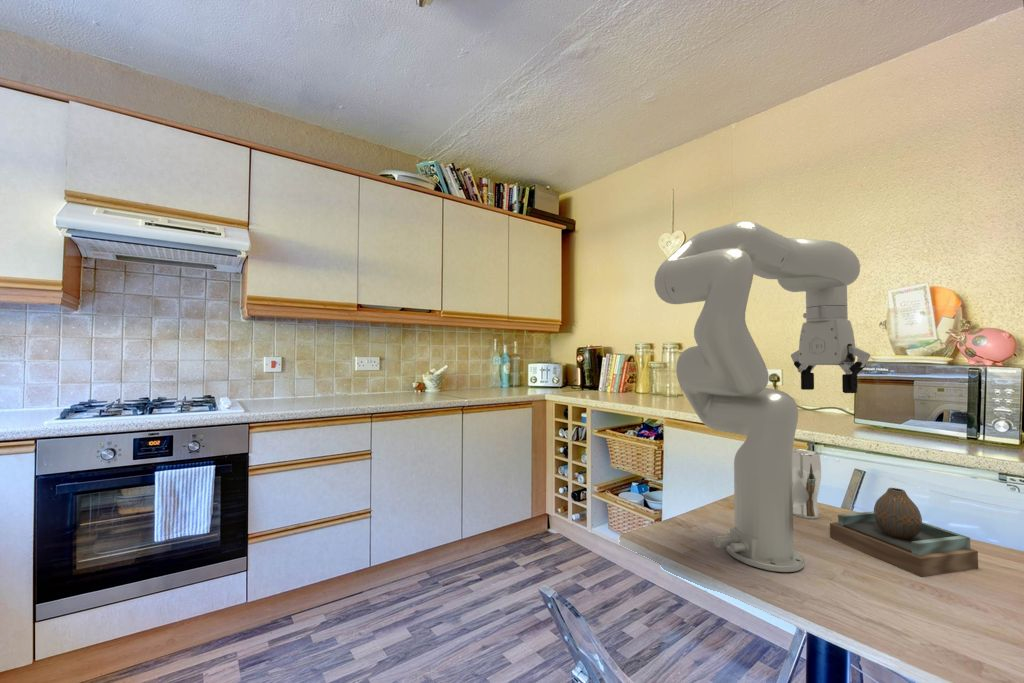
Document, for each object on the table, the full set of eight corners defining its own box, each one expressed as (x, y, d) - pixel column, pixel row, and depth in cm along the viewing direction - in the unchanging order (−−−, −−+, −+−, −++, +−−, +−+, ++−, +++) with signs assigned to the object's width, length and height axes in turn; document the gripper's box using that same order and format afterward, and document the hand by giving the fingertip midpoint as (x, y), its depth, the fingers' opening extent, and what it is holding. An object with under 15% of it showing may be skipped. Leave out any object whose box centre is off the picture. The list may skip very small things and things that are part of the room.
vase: (895, 527, 85) (894, 483, 85) (933, 542, 78) (931, 494, 78) (864, 528, 84) (863, 484, 84) (900, 543, 77) (898, 495, 77)
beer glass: (810, 509, 103) (809, 449, 104) (828, 520, 96) (827, 455, 97) (780, 508, 104) (780, 448, 105) (797, 518, 97) (796, 454, 98)
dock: (921, 576, 71) (920, 547, 72) (830, 537, 87) (829, 513, 87) (978, 568, 75) (977, 539, 75) (880, 531, 90) (880, 508, 90)
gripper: (779, 318, 102) (780, 388, 101) (853, 310, 85) (854, 394, 84) (804, 319, 103) (805, 388, 103) (880, 312, 87) (882, 394, 86)
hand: (827, 391), depth 93 cm, fingers open, 9 cm apart
